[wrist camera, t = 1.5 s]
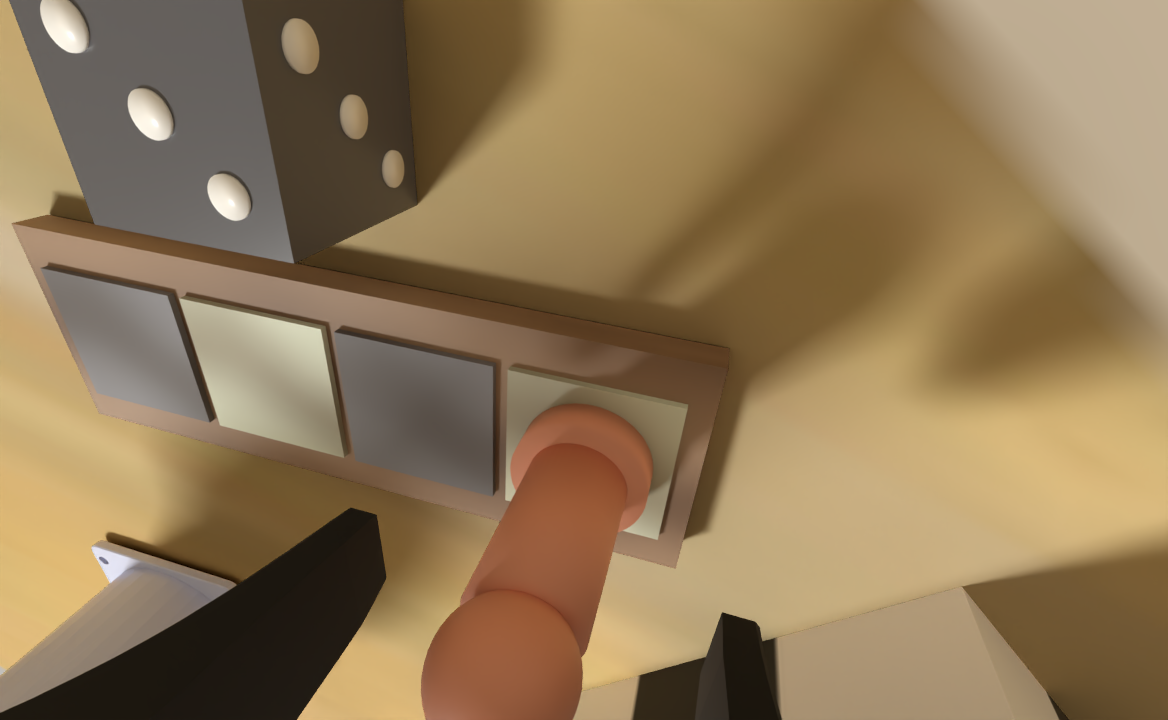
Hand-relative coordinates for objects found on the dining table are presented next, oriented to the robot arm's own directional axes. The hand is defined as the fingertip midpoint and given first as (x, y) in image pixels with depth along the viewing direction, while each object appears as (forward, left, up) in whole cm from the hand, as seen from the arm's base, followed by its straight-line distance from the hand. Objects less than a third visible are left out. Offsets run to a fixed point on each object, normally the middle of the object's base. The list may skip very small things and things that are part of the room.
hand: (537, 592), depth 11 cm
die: (+8, +8, -6) cm, 12 cm away
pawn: (0, 0, -4) cm, 4 cm away
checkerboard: (-34, -12, -6) cm, 37 cm away
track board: (0, +8, -6) cm, 9 cm away
